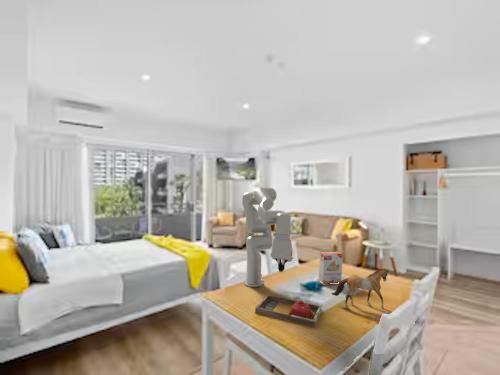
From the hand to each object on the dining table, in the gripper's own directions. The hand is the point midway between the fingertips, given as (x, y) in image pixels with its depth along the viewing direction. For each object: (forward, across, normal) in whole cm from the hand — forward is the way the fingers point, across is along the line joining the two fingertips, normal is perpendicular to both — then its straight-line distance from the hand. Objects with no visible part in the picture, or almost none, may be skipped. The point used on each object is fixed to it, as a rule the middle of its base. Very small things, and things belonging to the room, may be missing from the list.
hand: (281, 271), depth 142 cm
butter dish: (+21, +12, -3) cm, 24 cm away
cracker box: (+21, +19, +50) cm, 58 cm away
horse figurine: (+20, +38, +26) cm, 50 cm away
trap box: (+20, +5, -1) cm, 21 cm away
